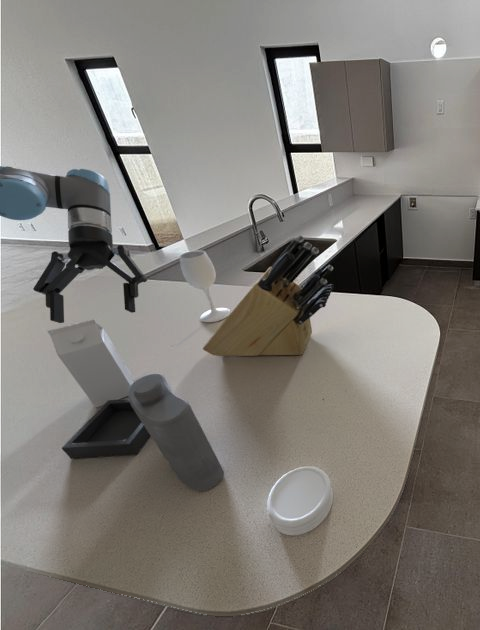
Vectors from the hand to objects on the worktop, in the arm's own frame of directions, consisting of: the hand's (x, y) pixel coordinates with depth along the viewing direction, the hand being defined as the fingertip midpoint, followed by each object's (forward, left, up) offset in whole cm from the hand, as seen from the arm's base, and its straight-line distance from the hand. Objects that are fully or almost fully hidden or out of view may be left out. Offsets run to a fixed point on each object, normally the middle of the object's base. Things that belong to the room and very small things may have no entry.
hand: (94, 316), depth 75 cm
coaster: (+52, -37, -17) cm, 66 cm away
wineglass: (+10, +27, -17) cm, 33 cm away
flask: (+30, -28, -17) cm, 44 cm away
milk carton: (+2, -7, -17) cm, 18 cm away
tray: (+12, -19, -17) cm, 28 cm away
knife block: (+35, +9, -17) cm, 40 cm away
